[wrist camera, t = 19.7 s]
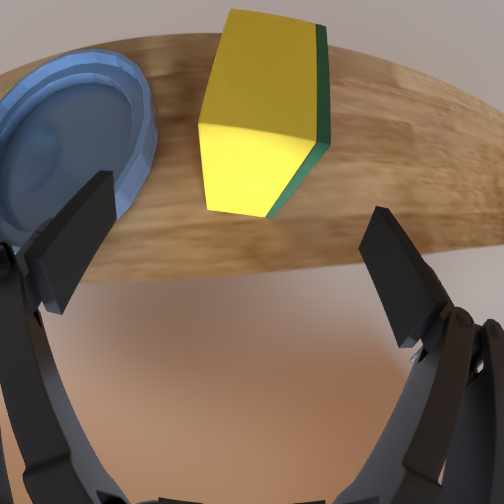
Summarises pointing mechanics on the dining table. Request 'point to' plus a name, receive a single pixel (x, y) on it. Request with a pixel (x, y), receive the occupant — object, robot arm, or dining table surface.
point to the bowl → (73, 136)
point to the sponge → (264, 112)
